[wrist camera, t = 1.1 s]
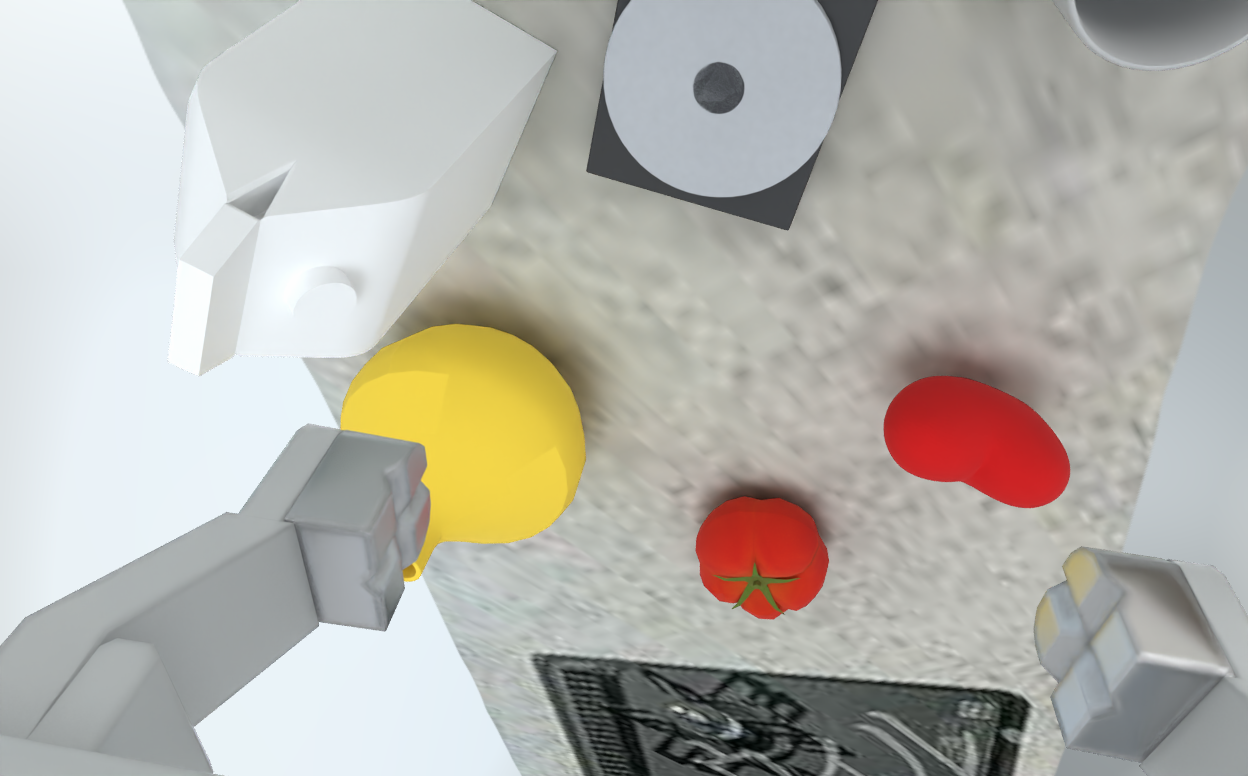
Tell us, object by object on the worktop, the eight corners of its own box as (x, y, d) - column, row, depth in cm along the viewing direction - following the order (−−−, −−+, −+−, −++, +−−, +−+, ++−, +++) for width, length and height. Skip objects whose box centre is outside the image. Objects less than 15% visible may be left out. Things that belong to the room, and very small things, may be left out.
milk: (379, -54, 47) (41, 118, 27) (557, 50, 48) (359, 282, 29) (335, 121, 54) (49, 353, 35) (490, 206, 56) (299, 472, 36)
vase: (530, 492, 74) (454, 680, 60) (356, 379, 70) (228, 553, 55) (651, 383, 63) (592, 582, 49) (453, 240, 58) (323, 413, 44)
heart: (1066, 376, 55) (1100, 482, 47) (1023, 431, 58) (1049, 537, 51) (899, 326, 55) (907, 422, 48) (867, 383, 59) (870, 482, 51)
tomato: (696, 475, 68) (683, 544, 63) (831, 483, 66) (829, 555, 60) (705, 557, 75) (694, 626, 69) (828, 567, 72) (826, 640, 67)
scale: (645, -108, 42) (632, -97, 40) (887, -40, 42) (889, -25, 39) (594, 156, 52) (582, 177, 50) (790, 213, 52) (787, 237, 49)
